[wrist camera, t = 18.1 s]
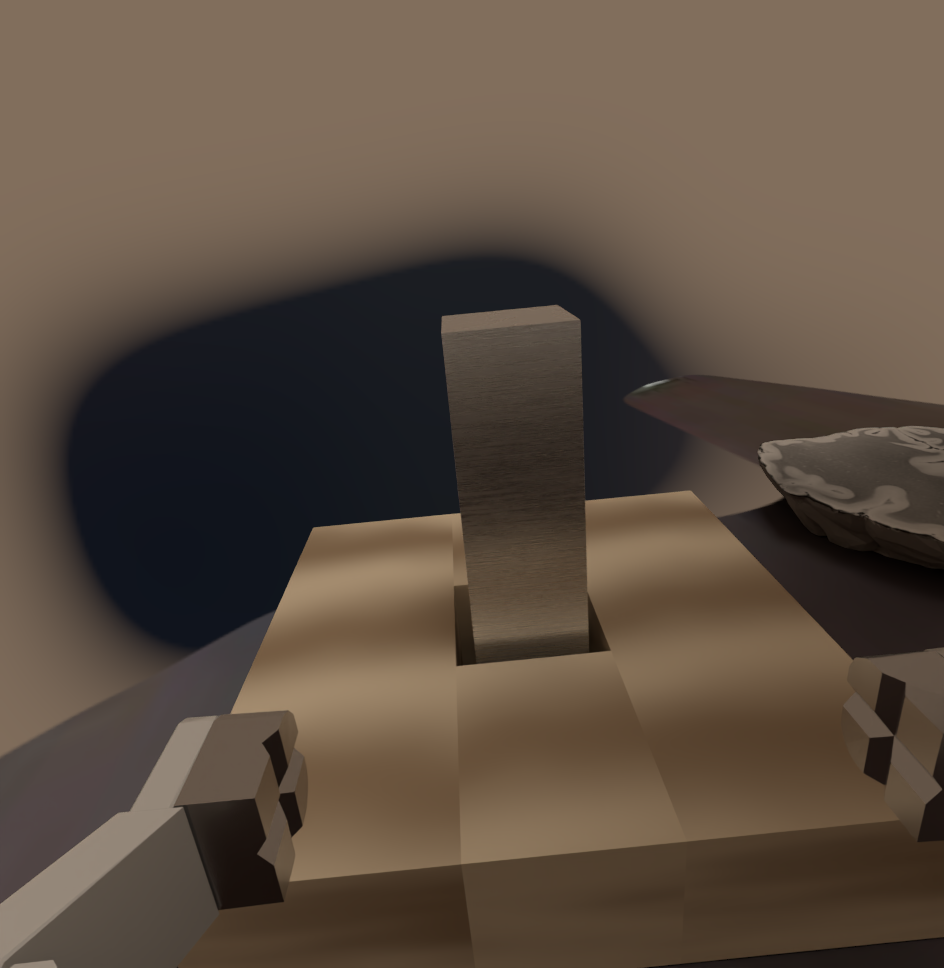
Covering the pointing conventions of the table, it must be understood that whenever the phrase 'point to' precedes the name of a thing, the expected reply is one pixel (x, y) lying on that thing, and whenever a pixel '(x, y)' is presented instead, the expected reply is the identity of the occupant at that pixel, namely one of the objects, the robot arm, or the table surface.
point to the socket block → (569, 766)
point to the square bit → (520, 478)
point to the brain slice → (867, 489)
